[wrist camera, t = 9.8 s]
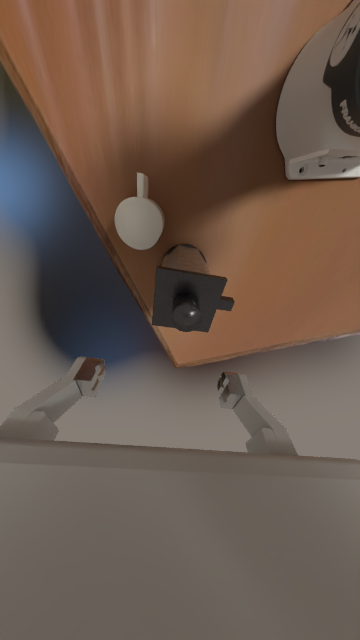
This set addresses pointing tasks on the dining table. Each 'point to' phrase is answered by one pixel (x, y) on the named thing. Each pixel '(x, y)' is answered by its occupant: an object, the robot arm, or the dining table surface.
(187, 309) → the pump plunger
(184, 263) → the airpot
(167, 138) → the dining table surface
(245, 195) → the dining table surface
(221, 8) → the dining table surface
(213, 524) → the robot arm
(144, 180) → the diner mug
